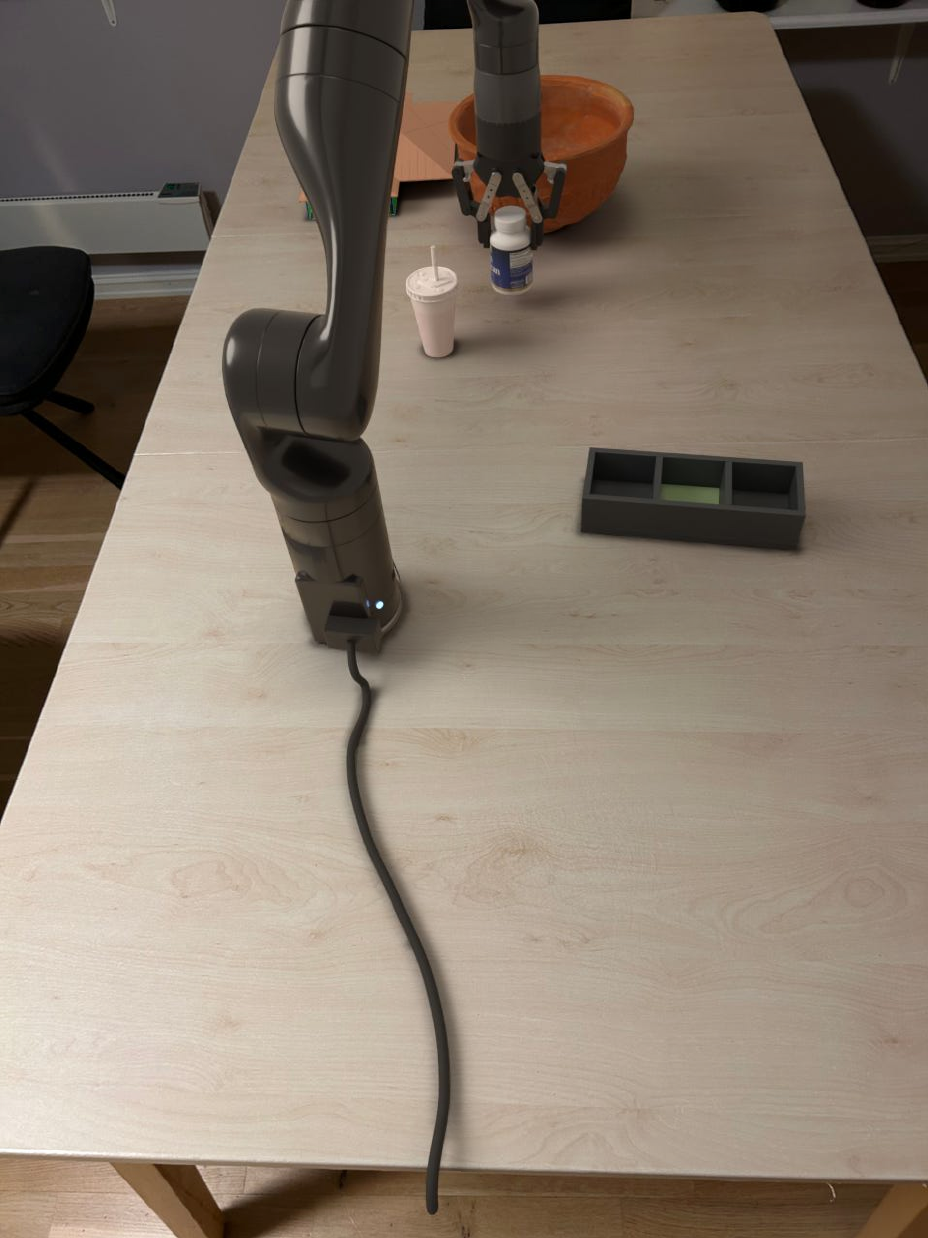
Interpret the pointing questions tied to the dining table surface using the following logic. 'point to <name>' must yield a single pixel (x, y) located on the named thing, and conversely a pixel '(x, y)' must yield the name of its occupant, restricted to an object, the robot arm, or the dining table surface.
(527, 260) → the pill bottle
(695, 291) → the dining table surface
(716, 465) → the rack
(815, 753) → the dining table surface
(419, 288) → the smoothie
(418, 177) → the house
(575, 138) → the bowl
